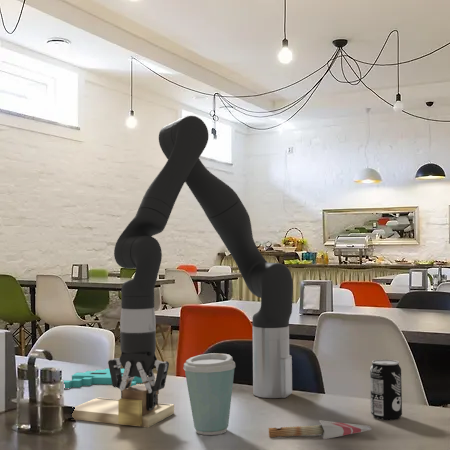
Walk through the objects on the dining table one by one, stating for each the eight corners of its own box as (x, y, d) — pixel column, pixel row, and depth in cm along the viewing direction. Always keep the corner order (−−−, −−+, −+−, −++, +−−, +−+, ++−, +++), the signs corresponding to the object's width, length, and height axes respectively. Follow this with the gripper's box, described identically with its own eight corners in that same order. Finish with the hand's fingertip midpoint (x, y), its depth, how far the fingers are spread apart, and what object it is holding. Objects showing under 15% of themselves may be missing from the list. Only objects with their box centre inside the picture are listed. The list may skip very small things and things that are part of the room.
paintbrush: (372, 422, 124) (269, 428, 124) (373, 437, 124) (269, 442, 124) (367, 417, 128) (267, 422, 128) (368, 431, 128) (268, 436, 128)
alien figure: (134, 391, 168) (150, 376, 188) (134, 383, 168) (150, 368, 188) (60, 390, 170) (84, 375, 190) (60, 382, 170) (84, 368, 190)
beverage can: (403, 414, 141) (402, 359, 142) (401, 422, 135) (400, 365, 135) (372, 412, 143) (371, 358, 144) (369, 419, 137) (368, 363, 138)
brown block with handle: (167, 411, 144) (167, 381, 144) (139, 426, 132) (139, 393, 132) (147, 409, 145) (147, 379, 146) (118, 423, 134) (118, 391, 134)
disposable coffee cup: (218, 441, 122) (217, 362, 123) (172, 433, 128) (172, 358, 129) (245, 428, 131) (245, 354, 132) (202, 421, 137) (201, 350, 138)
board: (174, 413, 144) (174, 403, 144) (148, 427, 133) (148, 417, 133) (98, 405, 151) (98, 397, 151) (67, 418, 140) (67, 409, 140)
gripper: (175, 328, 138) (176, 407, 138) (118, 325, 143) (118, 402, 143) (159, 332, 131) (160, 416, 131) (99, 329, 136) (100, 410, 136)
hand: (138, 408), depth 137 cm, fingers closed on brown block with handle, 5 cm apart
